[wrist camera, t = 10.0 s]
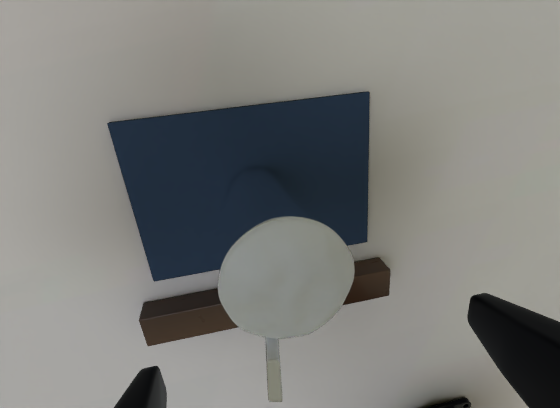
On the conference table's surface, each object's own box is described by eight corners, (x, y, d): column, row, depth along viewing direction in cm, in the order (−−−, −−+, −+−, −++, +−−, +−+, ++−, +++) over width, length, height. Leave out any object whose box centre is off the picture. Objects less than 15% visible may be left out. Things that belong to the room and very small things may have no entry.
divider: (378, 281, 23) (389, 295, 22) (151, 328, 21) (147, 346, 19) (379, 257, 22) (390, 269, 21) (143, 302, 20) (138, 320, 19)
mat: (365, 239, 21) (367, 242, 21) (154, 278, 20) (153, 281, 19) (367, 91, 18) (369, 91, 17) (108, 122, 16) (106, 123, 16)
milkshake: (204, 238, 19) (200, 401, 10) (224, 146, 17) (241, 240, 8) (281, 249, 20) (340, 403, 11) (307, 164, 18) (402, 263, 9)
